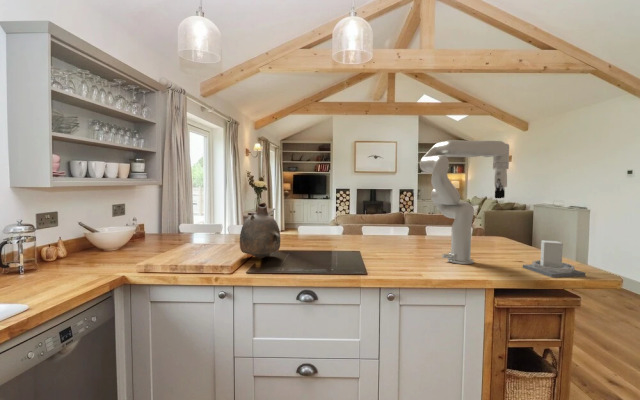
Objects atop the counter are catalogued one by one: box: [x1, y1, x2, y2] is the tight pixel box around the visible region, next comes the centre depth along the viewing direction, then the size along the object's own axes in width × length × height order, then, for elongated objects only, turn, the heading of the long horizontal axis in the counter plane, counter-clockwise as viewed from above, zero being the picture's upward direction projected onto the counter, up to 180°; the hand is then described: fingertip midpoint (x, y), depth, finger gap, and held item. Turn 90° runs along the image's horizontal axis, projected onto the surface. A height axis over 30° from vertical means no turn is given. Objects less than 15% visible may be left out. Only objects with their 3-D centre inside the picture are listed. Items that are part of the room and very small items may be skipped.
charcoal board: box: [522, 263, 586, 278], centre depth 156 cm, size 17×17×2 cm
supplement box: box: [540, 239, 564, 268], centre depth 156 cm, size 7×7×13 cm
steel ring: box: [531, 259, 576, 273], centre depth 156 cm, size 16×16×2 cm
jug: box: [239, 202, 281, 259], centre depth 178 cm, size 24×21×30 cm
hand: (499, 198), depth 182 cm, fingers open, 9 cm apart
